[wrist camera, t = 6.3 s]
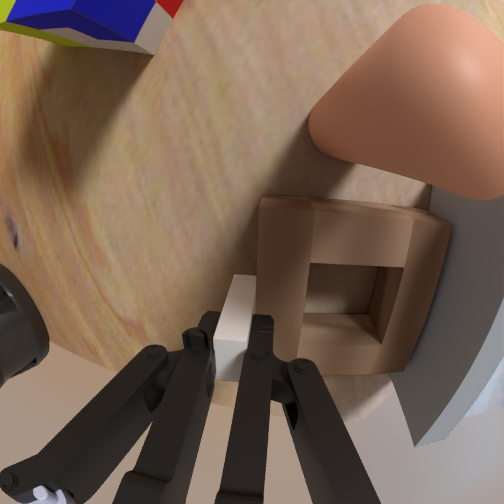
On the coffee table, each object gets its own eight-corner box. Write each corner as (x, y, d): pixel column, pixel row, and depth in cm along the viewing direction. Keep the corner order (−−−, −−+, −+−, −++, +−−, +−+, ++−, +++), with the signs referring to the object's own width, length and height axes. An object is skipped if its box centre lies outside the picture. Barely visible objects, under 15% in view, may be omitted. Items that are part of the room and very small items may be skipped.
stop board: (385, 363, 23) (414, 447, 14) (433, 170, 17) (529, 199, 7) (411, 361, 23) (444, 439, 14) (462, 177, 16) (554, 209, 7)
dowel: (307, 156, 18) (384, 183, 5) (308, 91, 16) (376, -22, 3) (371, 162, 17) (527, 212, 4) (373, 100, 16) (524, 49, 3)
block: (256, 339, 23) (252, 372, 19) (262, 194, 19) (258, 207, 15) (390, 341, 22) (403, 371, 18) (424, 209, 18) (451, 224, 14)
